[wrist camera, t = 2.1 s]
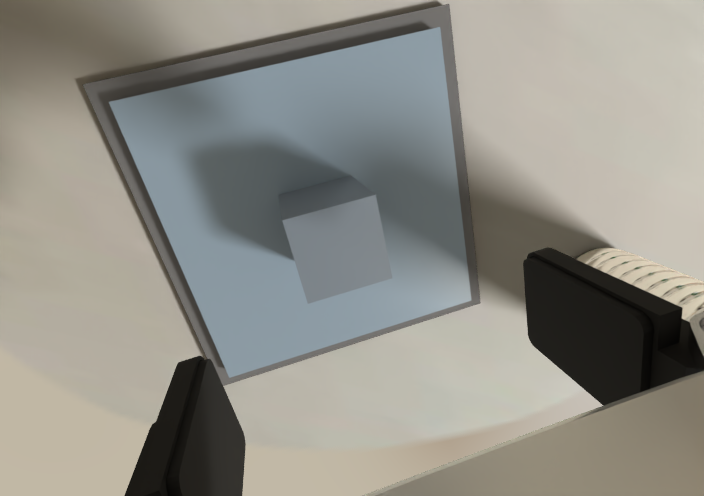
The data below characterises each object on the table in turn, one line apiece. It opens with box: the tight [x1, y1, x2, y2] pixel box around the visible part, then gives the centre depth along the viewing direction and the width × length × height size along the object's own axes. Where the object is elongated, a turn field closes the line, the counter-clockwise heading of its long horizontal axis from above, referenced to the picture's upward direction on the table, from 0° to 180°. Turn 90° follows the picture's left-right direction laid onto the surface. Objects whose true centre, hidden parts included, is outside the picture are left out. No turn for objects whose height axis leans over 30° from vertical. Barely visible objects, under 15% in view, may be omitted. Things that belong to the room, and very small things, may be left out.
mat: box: [83, 4, 480, 386], centre depth 22 cm, size 18×18×1 cm
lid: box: [109, 27, 471, 378], centre depth 19 cm, size 16×16×6 cm
